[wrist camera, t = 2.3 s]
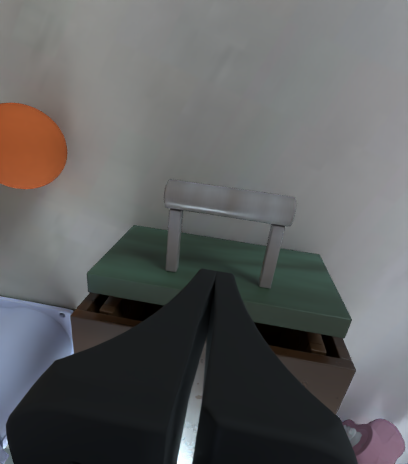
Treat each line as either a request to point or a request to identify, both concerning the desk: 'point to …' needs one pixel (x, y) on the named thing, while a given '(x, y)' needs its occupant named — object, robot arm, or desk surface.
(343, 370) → the cabinet
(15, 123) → the ball
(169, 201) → the drawer
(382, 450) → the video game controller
